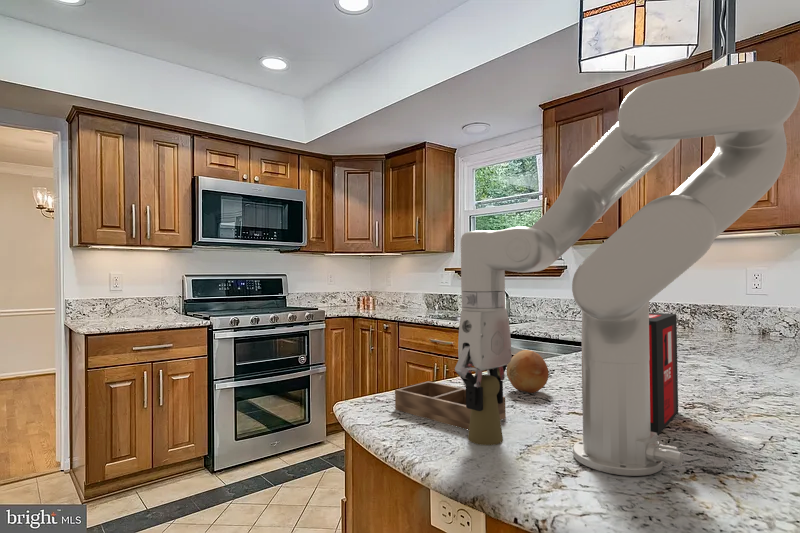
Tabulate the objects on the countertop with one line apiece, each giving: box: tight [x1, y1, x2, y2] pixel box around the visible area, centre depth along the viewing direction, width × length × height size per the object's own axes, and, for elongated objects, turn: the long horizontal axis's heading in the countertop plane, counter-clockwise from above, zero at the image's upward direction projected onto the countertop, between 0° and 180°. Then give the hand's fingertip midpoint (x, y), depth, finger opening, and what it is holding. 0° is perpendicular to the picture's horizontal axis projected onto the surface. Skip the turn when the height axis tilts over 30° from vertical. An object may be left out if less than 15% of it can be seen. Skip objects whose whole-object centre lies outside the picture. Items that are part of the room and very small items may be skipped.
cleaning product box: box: [649, 312, 679, 436], centre depth 94 cm, size 16×9×20 cm, turn 139°
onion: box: [506, 349, 550, 394], centre depth 115 cm, size 10×10×10 cm
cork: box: [467, 374, 504, 446], centre depth 84 cm, size 6×6×11 cm
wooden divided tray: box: [394, 380, 507, 431], centre depth 99 cm, size 20×11×4 cm, turn 45°
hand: (484, 404), depth 84 cm, fingers closed on cork, 5 cm apart
